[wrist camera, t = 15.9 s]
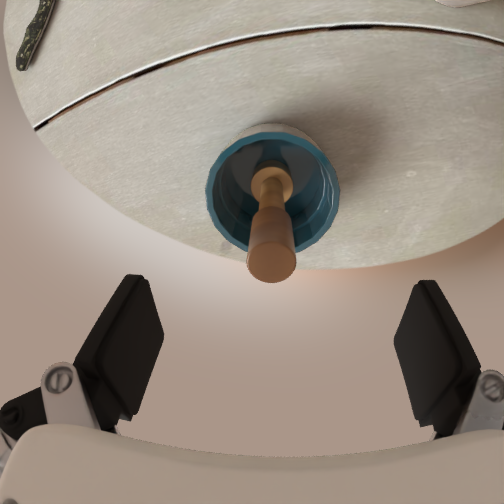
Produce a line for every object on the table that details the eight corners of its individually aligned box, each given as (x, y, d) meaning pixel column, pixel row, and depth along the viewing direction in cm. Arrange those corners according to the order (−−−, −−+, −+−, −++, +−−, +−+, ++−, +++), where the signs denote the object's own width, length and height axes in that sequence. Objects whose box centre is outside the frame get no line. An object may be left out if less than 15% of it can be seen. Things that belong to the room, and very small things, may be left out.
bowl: (328, 124, 22) (344, 134, 17) (322, 224, 26) (332, 257, 22) (215, 123, 22) (200, 134, 17) (222, 223, 27) (211, 255, 22)
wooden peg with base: (291, 160, 23) (310, 231, 12) (291, 197, 24) (305, 292, 14) (251, 159, 23) (233, 230, 12) (252, 196, 25) (236, 291, 14)
